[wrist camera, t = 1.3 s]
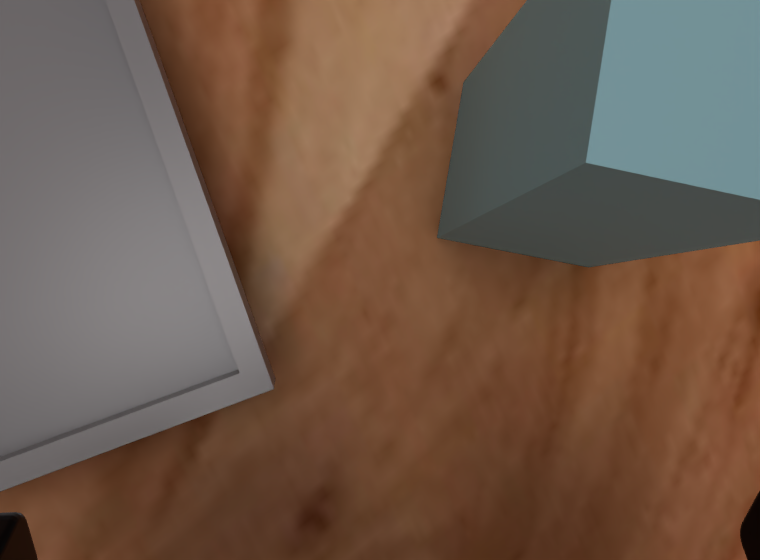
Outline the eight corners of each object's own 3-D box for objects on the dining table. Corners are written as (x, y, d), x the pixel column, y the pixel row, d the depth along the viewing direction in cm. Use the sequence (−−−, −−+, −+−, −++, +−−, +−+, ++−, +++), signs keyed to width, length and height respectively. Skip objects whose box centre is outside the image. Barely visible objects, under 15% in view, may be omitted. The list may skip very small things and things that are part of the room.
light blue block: (588, 267, 23) (868, 222, 12) (436, 237, 22) (585, 162, 11) (612, 115, 23) (905, -63, 12) (463, 82, 22) (632, -137, 12)
